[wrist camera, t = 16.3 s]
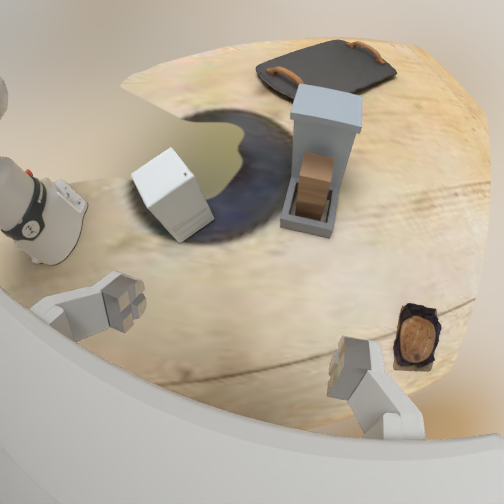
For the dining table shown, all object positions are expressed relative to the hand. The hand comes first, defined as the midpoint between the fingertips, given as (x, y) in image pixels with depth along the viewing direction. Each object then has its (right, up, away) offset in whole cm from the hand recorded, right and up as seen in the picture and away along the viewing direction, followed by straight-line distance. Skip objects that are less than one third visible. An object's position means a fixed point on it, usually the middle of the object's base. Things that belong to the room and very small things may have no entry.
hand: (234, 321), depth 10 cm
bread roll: (+26, -11, +26) cm, 38 cm away
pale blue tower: (+11, +12, +35) cm, 39 cm away
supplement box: (-10, +9, +36) cm, 38 cm away
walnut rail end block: (+10, +9, +34) cm, 37 cm away
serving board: (+21, +49, +48) cm, 72 cm away
